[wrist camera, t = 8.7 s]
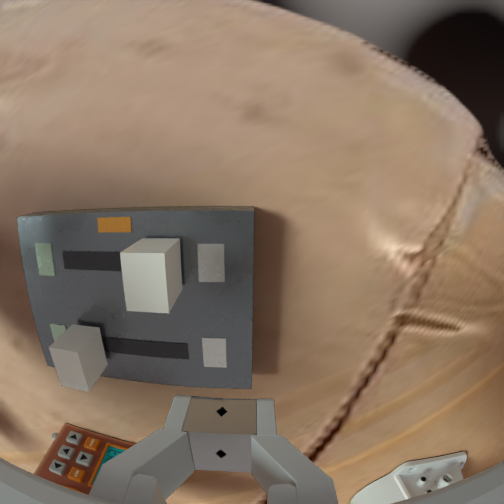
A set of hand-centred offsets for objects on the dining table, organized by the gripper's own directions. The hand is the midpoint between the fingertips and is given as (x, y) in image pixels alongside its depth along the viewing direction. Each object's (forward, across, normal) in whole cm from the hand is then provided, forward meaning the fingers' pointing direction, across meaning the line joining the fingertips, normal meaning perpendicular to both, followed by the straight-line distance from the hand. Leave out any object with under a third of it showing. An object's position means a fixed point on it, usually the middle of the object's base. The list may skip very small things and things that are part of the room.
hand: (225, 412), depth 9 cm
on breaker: (+15, -14, -8) cm, 22 cm away
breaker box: (+18, -10, -4) cm, 21 cm away
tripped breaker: (+15, -6, 0) cm, 16 cm away
